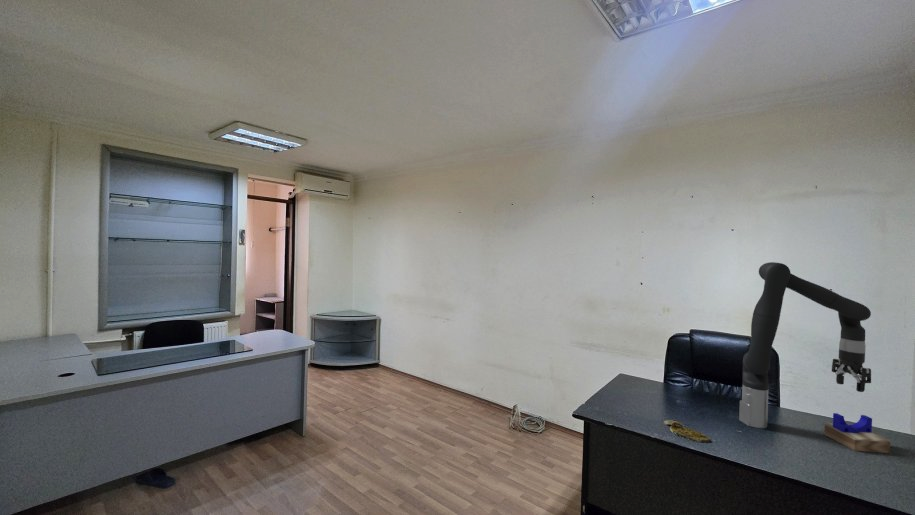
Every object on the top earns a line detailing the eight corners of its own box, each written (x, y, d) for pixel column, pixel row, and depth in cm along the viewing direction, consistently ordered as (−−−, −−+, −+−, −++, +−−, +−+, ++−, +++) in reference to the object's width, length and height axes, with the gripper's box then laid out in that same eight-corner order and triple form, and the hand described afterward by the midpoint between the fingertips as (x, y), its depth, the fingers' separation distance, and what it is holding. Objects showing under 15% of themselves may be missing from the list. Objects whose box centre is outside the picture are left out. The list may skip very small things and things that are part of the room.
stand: (854, 450, 145) (854, 438, 144) (824, 434, 157) (824, 423, 157) (889, 452, 143) (890, 440, 143) (856, 436, 156) (857, 424, 156)
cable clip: (842, 432, 149) (843, 417, 149) (832, 426, 154) (833, 413, 154) (875, 434, 148) (875, 420, 148) (864, 429, 152) (864, 415, 152)
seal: (711, 440, 153) (671, 428, 162) (712, 429, 153) (672, 417, 163) (709, 446, 146) (667, 433, 155) (710, 435, 146) (668, 422, 155)
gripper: (879, 355, 145) (877, 395, 145) (845, 345, 159) (843, 382, 159) (859, 354, 145) (856, 393, 146) (826, 345, 160) (824, 381, 160)
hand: (849, 387), depth 153 cm, fingers open, 8 cm apart
